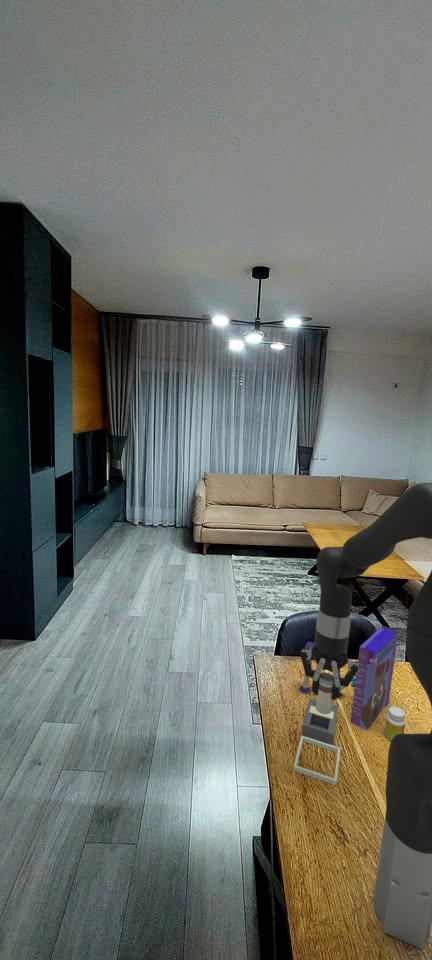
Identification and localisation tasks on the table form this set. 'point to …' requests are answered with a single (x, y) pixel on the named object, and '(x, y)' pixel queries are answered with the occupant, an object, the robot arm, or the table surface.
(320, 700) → the cylinder
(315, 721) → the fuse block
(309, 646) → the toy lamp
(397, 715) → the supplement bottle
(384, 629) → the cereal box
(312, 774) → the pale green flat frame
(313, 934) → the table surface
